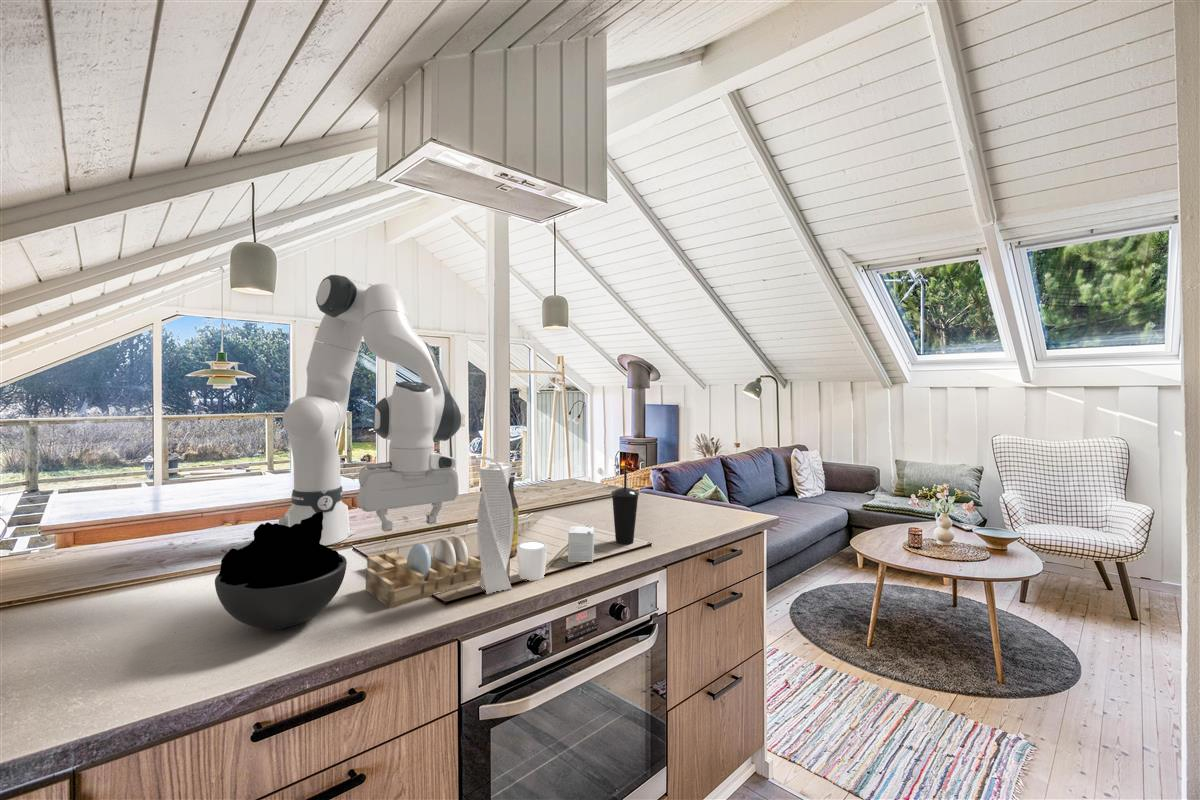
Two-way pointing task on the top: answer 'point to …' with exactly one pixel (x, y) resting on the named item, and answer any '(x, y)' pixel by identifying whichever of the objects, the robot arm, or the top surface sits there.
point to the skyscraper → (495, 525)
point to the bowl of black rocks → (280, 575)
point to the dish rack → (445, 574)
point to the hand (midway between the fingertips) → (409, 526)
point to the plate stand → (384, 561)
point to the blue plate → (420, 559)
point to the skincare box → (580, 544)
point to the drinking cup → (624, 512)
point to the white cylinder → (532, 559)
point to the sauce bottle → (515, 517)
